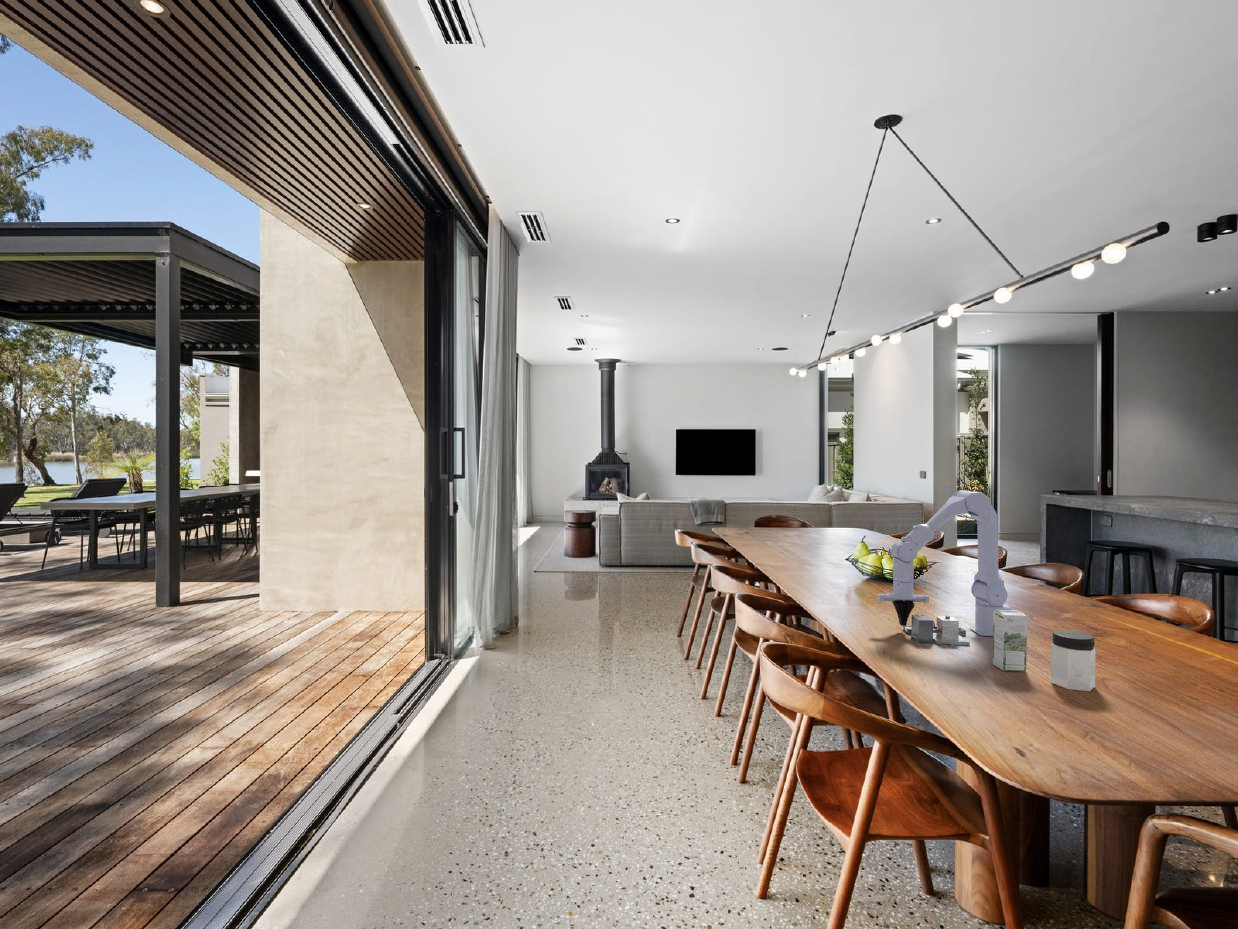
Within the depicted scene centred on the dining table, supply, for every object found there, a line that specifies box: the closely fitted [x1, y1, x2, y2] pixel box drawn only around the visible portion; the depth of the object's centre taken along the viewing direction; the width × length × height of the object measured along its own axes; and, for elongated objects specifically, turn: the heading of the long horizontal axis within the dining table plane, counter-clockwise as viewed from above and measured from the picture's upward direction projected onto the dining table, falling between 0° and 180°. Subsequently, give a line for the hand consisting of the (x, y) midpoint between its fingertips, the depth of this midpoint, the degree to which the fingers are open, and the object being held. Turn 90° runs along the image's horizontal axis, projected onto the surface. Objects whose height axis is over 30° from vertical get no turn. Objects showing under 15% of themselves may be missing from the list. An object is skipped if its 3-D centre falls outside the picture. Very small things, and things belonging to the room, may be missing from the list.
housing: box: [936, 615, 960, 640], centre depth 189 cm, size 4×4×6 cm
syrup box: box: [991, 609, 1029, 673], centre depth 164 cm, size 6×6×14 cm
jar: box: [1050, 629, 1096, 692], centre depth 152 cm, size 9×8×12 cm
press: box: [902, 614, 971, 646], centre depth 192 cm, size 17×15×6 cm
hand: (902, 625), depth 198 cm, fingers closed
